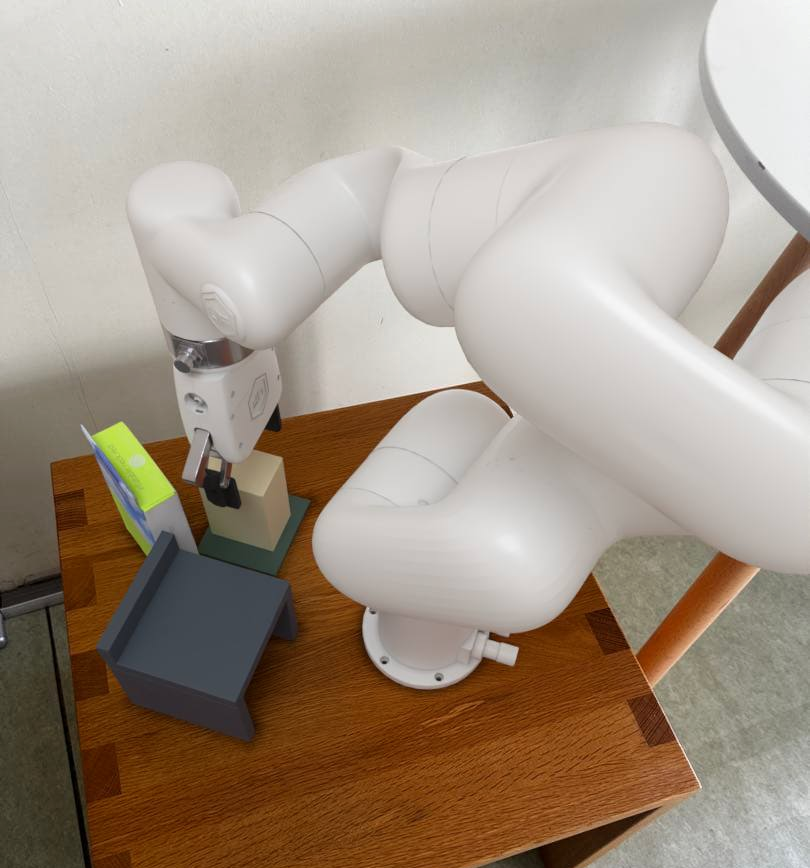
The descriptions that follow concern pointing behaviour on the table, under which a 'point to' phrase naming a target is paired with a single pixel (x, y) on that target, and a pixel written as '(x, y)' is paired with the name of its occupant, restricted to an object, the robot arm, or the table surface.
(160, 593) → the shelf
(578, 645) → the table surface
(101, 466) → the box
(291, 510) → the mat
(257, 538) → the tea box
